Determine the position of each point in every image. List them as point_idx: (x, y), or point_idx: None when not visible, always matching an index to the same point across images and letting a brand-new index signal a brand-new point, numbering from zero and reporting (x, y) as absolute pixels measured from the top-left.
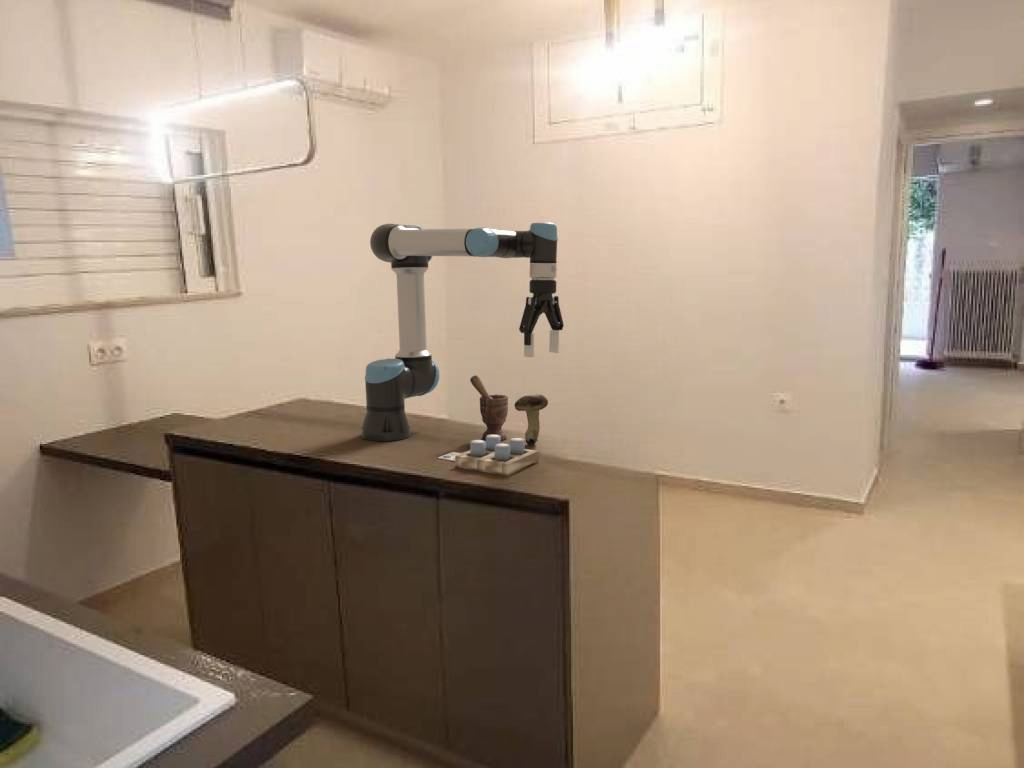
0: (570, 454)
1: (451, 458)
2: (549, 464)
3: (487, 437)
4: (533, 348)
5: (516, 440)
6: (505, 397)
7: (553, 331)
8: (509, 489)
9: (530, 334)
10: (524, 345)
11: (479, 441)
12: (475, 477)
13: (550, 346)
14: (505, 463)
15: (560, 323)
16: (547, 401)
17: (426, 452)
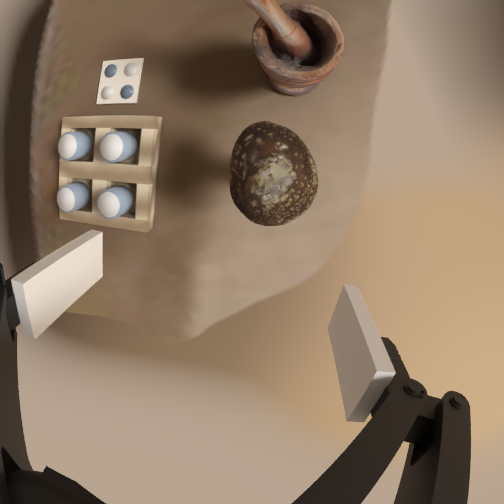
0: (229, 263)
1: (104, 83)
2: (149, 249)
3: (102, 140)
4: (77, 294)
5: (101, 207)
6: (304, 73)
7: (360, 390)
8: (36, 240)
9: (21, 318)
10: (58, 250)
11: (67, 148)
12: (48, 175)
13: (348, 307)
14: (61, 213)
15: (408, 454)
16: (275, 225)
17: (133, 20)
